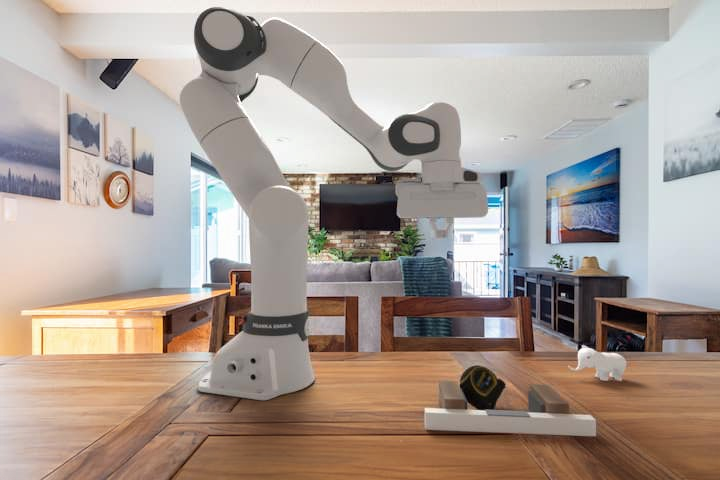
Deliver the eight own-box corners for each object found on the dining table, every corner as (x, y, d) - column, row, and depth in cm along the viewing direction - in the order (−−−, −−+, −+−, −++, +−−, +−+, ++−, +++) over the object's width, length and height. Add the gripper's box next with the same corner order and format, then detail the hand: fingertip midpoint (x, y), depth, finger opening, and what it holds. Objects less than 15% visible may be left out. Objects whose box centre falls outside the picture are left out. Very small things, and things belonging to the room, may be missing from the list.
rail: (425, 432, 54) (425, 402, 54) (421, 406, 62) (421, 380, 62) (596, 441, 51) (596, 409, 51) (567, 412, 60) (567, 385, 60)
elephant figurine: (558, 372, 78) (558, 343, 78) (613, 372, 78) (613, 342, 78) (579, 386, 71) (579, 353, 71) (640, 385, 71) (640, 353, 71)
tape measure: (482, 421, 59) (494, 413, 57) (449, 390, 62) (459, 381, 59) (499, 392, 64) (510, 384, 61) (467, 364, 66) (477, 355, 63)
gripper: (395, 175, 80) (395, 237, 80) (490, 173, 78) (490, 237, 78) (395, 180, 87) (395, 238, 87) (483, 178, 85) (483, 237, 85)
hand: (441, 237), depth 82 cm, fingers closed
